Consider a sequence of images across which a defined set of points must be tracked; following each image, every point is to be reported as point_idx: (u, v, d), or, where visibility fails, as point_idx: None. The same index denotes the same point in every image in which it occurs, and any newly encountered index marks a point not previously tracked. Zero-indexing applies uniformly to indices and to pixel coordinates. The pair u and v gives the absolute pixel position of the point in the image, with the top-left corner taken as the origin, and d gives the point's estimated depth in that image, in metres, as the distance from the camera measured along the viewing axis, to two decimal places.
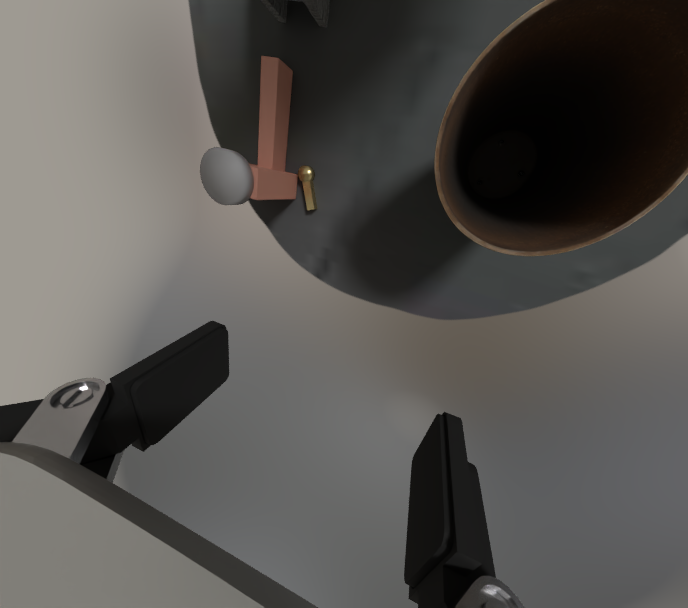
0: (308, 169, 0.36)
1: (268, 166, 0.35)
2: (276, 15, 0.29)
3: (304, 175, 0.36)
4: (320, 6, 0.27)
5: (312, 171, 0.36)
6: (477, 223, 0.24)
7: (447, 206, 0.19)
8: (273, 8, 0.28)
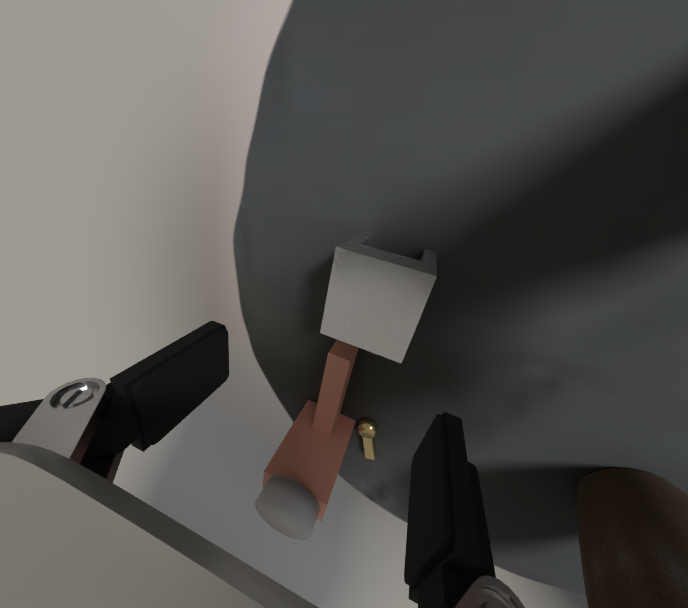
0: (371, 430, 0.30)
1: (326, 432, 0.29)
2: None
3: (365, 432, 0.30)
4: None
5: (375, 429, 0.30)
6: None
7: None
8: None
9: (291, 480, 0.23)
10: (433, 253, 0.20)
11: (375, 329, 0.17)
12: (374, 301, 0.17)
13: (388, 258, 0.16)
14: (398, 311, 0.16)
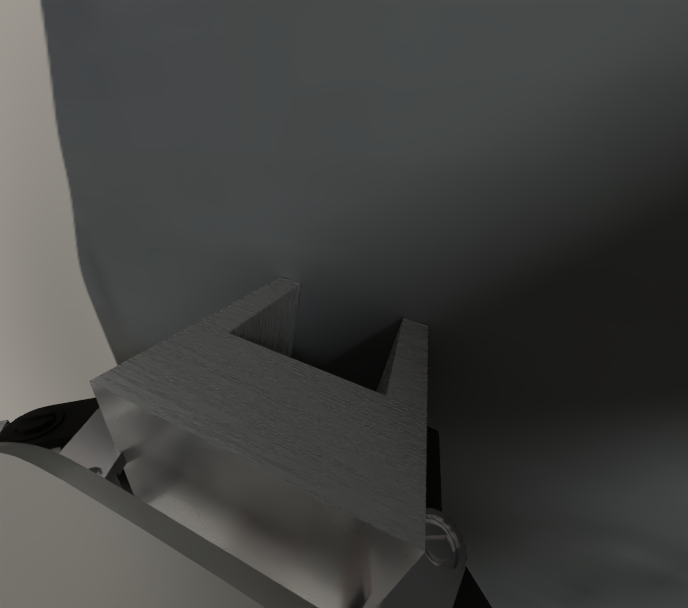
0: None
1: None
2: None
3: None
4: None
5: None
6: None
7: None
8: None
9: None
10: (421, 334, 0.09)
11: None
12: (237, 531, 0.05)
13: (267, 419, 0.05)
14: (307, 573, 0.05)
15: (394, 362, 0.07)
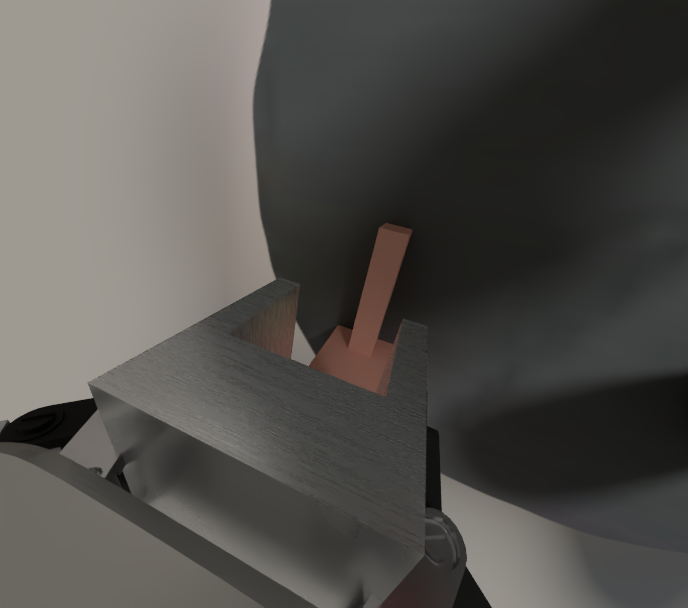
0: None
1: (366, 352, 0.24)
2: None
3: None
4: None
5: None
6: None
7: None
8: None
9: None
10: (421, 335, 0.09)
11: None
12: (236, 533, 0.05)
13: (266, 422, 0.05)
14: (306, 577, 0.05)
15: (394, 363, 0.07)
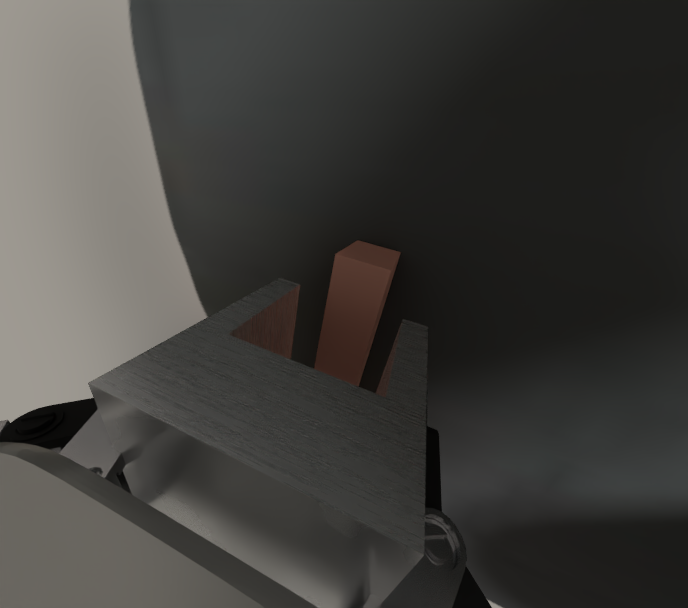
0: None
1: None
2: None
3: None
4: None
5: None
6: None
7: None
8: None
9: None
10: (421, 335, 0.09)
11: None
12: (236, 533, 0.05)
13: (265, 422, 0.05)
14: (306, 576, 0.05)
15: (393, 363, 0.07)
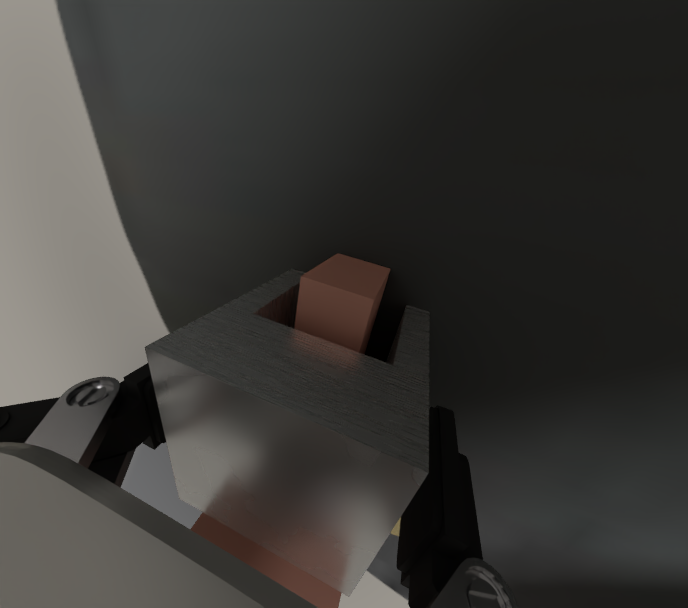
0: None
1: None
2: None
3: None
4: None
5: None
6: None
7: None
8: None
9: None
10: (423, 318, 0.10)
11: (282, 528, 0.07)
12: (265, 480, 0.06)
13: (294, 379, 0.06)
14: (327, 514, 0.06)
15: (399, 340, 0.08)
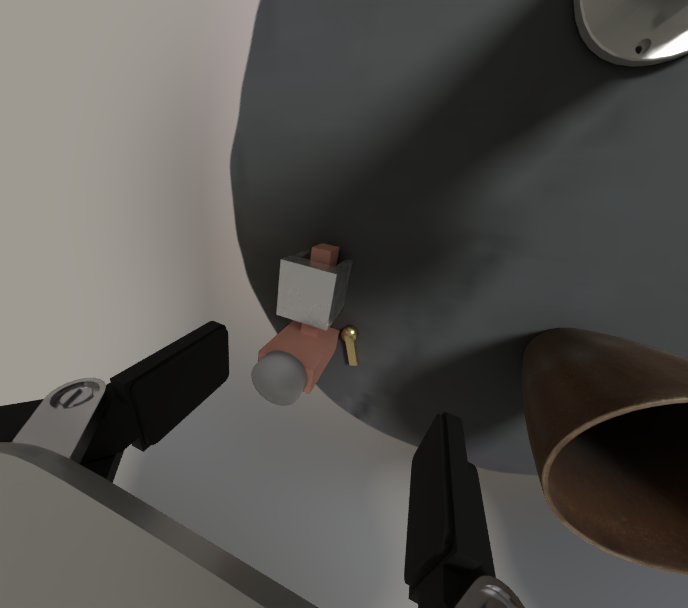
0: (353, 332, 0.34)
1: (313, 333, 0.33)
2: None
3: (348, 336, 0.35)
4: (339, 310, 0.32)
5: (356, 332, 0.35)
6: (559, 458, 0.23)
7: (554, 507, 0.18)
8: None
9: (282, 351, 0.27)
10: (349, 262, 0.31)
11: (308, 309, 0.28)
12: (305, 291, 0.27)
13: (312, 265, 0.27)
14: (319, 296, 0.27)
15: (339, 264, 0.29)
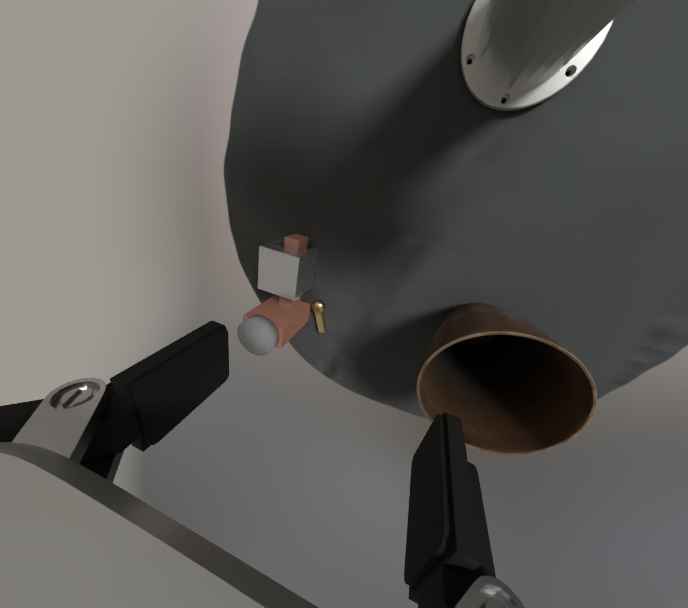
0: (320, 305, 0.43)
1: (288, 305, 0.43)
2: None
3: (316, 309, 0.44)
4: (307, 287, 0.41)
5: (323, 306, 0.44)
6: (452, 393, 0.32)
7: (426, 413, 0.27)
8: None
9: (260, 315, 0.37)
10: (315, 249, 0.40)
11: (281, 284, 0.37)
12: (278, 270, 0.36)
13: (282, 251, 0.36)
14: (288, 274, 0.36)
15: None
